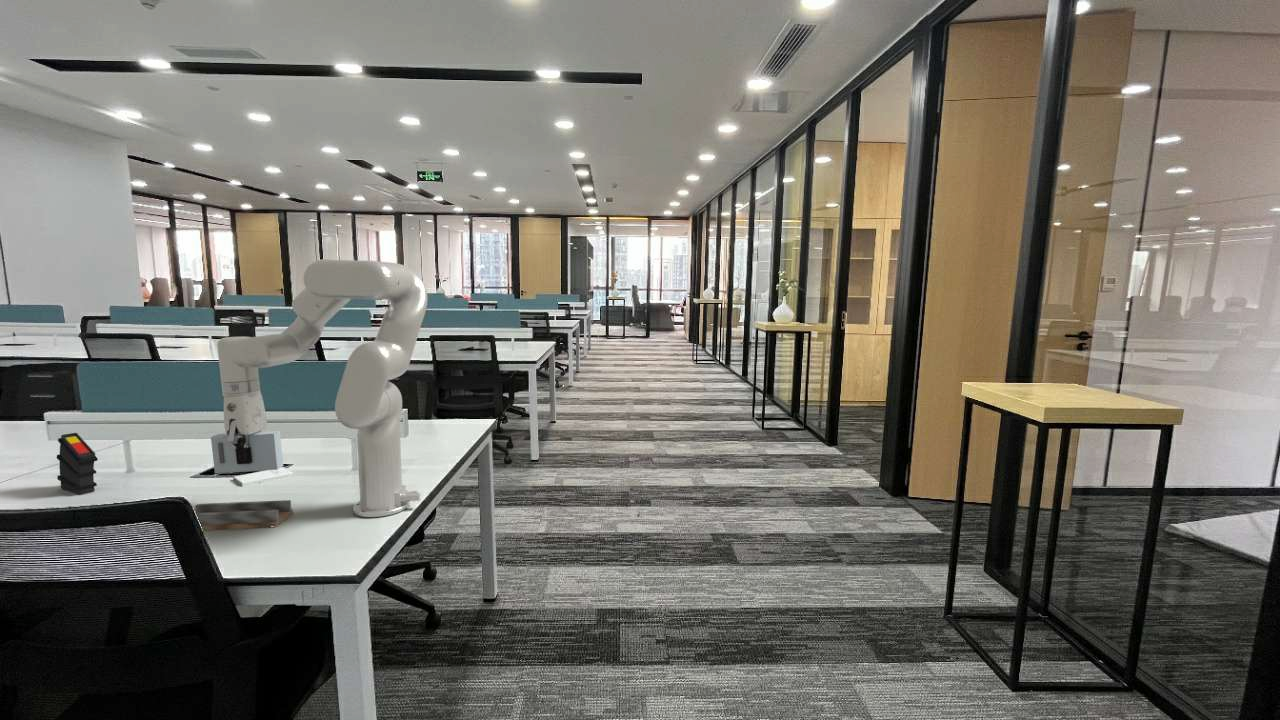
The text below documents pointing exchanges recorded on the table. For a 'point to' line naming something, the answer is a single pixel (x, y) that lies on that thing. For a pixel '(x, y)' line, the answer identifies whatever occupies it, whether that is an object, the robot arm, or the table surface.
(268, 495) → the table surface
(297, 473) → the table surface
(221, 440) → the door panel
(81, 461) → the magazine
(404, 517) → the table surface
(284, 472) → the external hard drive
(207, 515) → the track base
